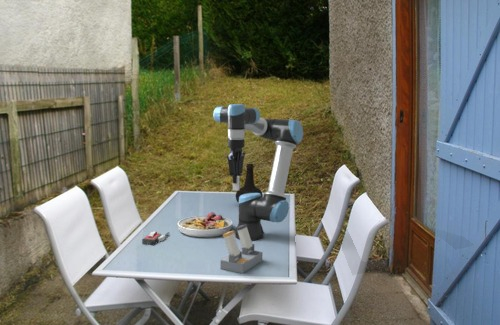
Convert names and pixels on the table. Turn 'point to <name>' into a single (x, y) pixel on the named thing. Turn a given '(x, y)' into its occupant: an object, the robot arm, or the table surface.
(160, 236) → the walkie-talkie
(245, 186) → the glass bottle
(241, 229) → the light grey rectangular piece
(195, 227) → the bowl
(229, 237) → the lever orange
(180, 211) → the table surface
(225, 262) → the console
